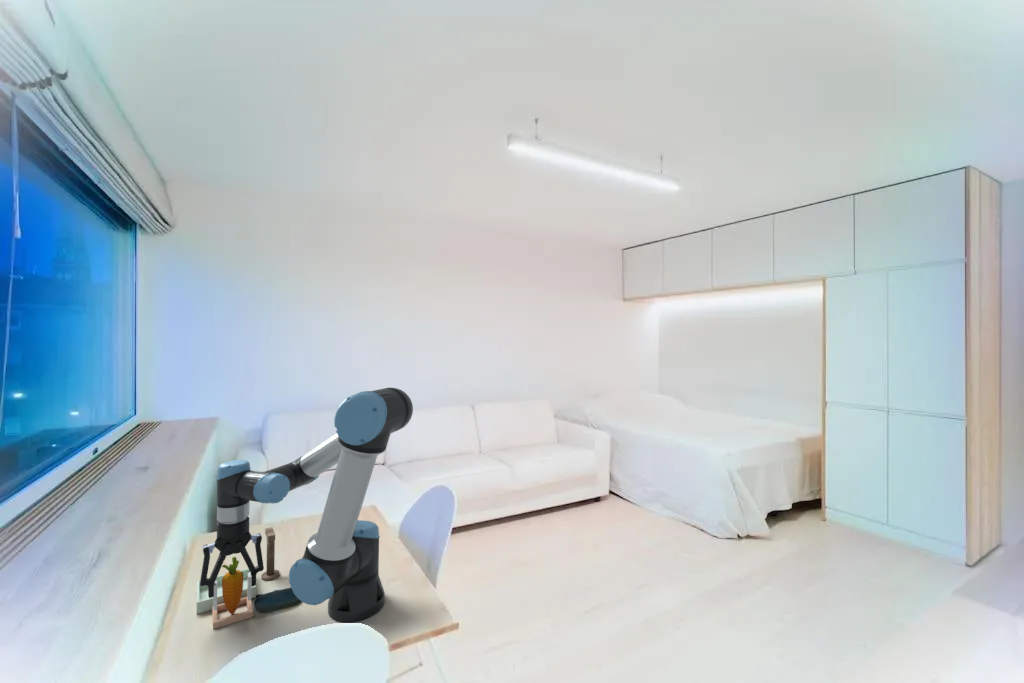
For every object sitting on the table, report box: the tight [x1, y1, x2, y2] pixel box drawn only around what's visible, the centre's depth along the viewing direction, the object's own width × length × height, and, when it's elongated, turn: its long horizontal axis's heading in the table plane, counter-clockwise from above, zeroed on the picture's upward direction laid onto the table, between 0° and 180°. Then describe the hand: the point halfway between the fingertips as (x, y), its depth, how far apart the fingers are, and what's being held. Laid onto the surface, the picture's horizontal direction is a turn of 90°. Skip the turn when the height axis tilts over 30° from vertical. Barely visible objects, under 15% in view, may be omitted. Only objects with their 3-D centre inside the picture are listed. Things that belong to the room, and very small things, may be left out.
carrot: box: [221, 556, 244, 615], centre depth 121 cm, size 5×5×15 cm
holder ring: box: [211, 596, 254, 630], centre depth 121 cm, size 9×9×2 cm
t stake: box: [260, 526, 280, 582], centre depth 141 cm, size 8×5×14 cm, turn 35°
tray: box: [196, 567, 257, 615], centre depth 130 cm, size 13×14×3 cm
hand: (232, 602), depth 121 cm, fingers open, 7 cm apart
